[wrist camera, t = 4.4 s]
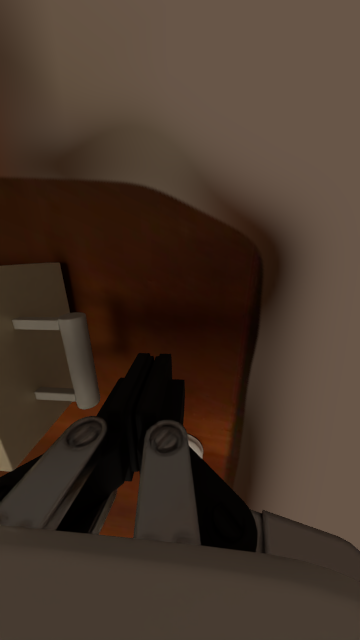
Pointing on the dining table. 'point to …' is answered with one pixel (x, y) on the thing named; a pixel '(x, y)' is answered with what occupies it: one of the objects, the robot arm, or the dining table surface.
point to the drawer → (39, 357)
